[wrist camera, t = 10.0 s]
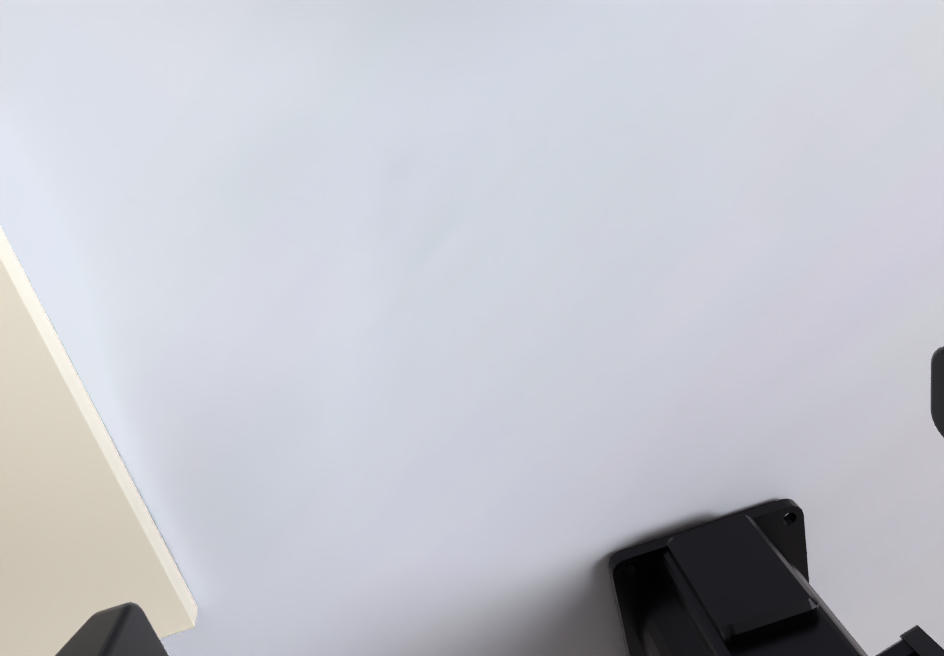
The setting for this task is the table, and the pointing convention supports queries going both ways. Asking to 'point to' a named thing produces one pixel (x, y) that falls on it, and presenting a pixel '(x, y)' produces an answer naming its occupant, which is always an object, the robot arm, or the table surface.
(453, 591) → the table surface
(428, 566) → the table surface
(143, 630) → the robot arm
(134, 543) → the building board
